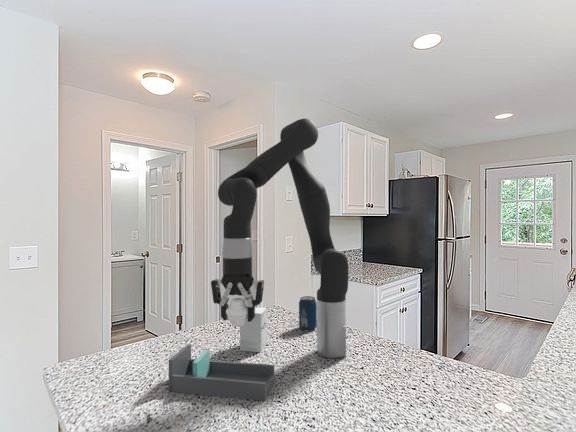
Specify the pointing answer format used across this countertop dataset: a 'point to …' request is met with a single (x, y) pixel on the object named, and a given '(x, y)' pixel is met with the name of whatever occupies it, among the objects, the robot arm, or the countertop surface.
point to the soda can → (307, 313)
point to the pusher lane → (220, 378)
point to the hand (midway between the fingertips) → (237, 320)
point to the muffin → (237, 312)
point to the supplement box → (254, 332)
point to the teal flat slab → (202, 364)
